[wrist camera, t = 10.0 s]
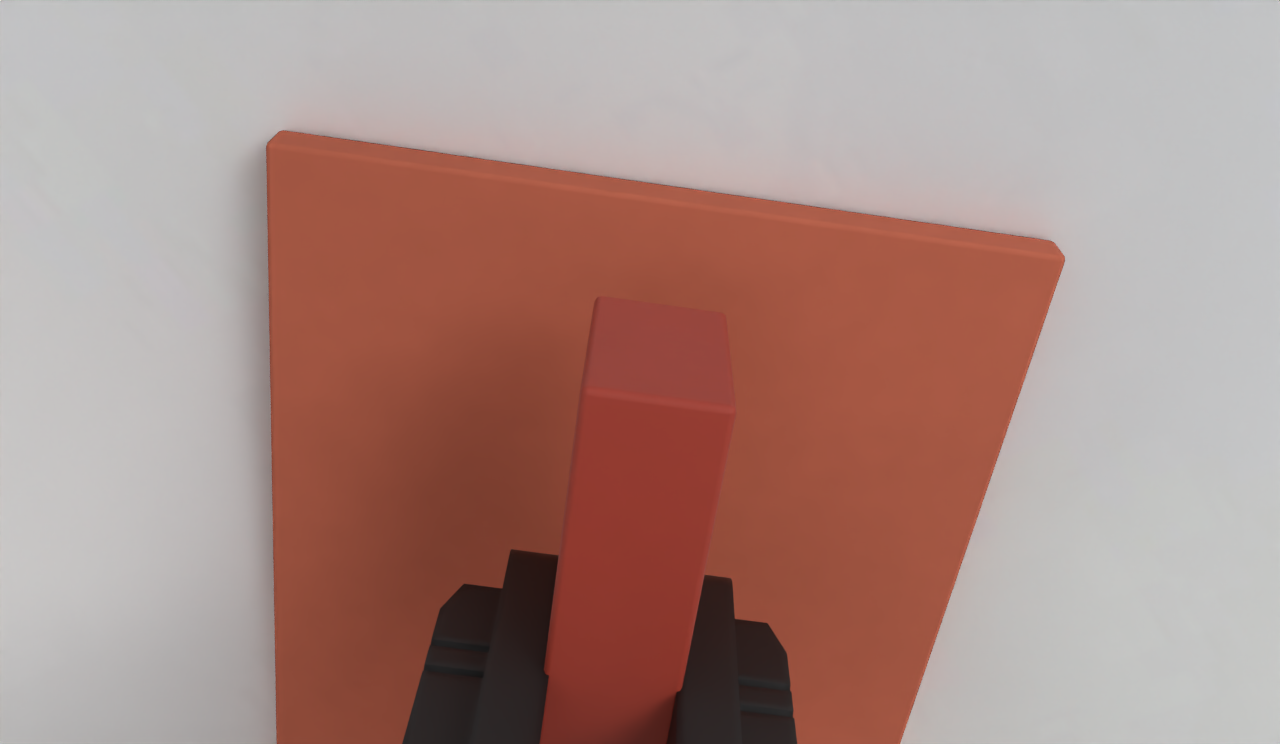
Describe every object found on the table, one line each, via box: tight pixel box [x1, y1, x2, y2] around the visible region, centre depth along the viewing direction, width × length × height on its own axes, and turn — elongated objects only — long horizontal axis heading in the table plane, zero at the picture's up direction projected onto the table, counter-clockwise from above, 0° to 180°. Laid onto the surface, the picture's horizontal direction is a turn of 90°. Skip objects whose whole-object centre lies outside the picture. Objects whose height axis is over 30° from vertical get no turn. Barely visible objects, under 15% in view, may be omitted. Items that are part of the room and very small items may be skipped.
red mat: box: [266, 131, 1065, 744], centre depth 18 cm, size 14×10×1 cm
